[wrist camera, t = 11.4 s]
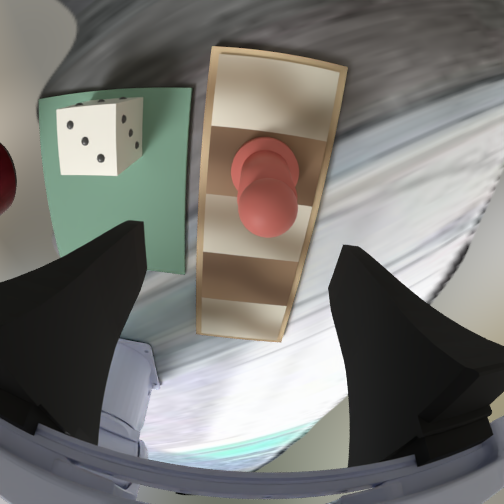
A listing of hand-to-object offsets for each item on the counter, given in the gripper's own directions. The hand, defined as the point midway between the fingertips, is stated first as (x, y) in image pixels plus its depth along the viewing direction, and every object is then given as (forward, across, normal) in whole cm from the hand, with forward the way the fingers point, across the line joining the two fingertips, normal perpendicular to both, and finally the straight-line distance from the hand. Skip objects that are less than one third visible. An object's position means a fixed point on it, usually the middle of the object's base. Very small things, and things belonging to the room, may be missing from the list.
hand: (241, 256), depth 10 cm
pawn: (+9, -1, -1) cm, 9 cm away
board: (+10, -1, +4) cm, 11 cm away
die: (+10, +9, -3) cm, 13 cm away
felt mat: (+10, +10, +2) cm, 14 cm away
